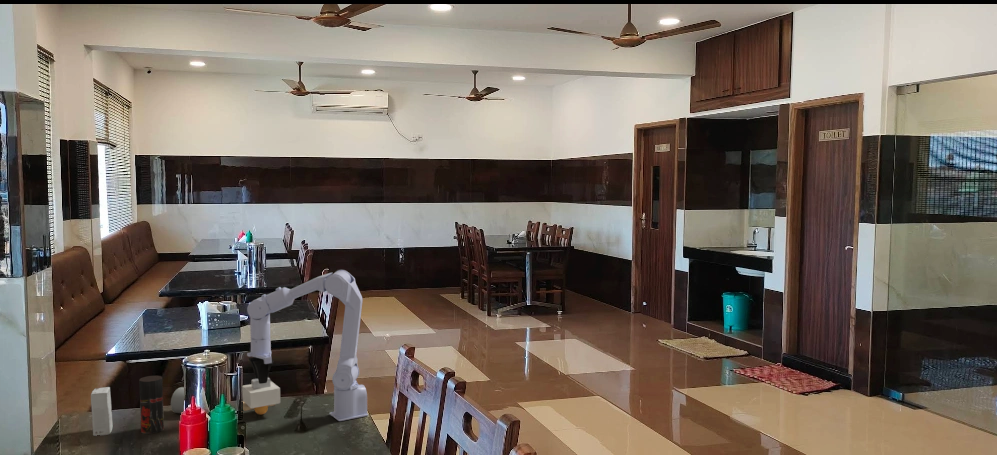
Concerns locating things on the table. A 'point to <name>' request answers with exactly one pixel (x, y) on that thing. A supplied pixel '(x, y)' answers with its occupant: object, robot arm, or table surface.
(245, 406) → the stopper bar
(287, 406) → the table surface
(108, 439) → the table surface
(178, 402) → the grey rounded block
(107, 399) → the skincare box
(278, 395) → the white box with knob
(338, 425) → the table surface
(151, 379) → the deodorant
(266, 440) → the table surface
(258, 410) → the ball
